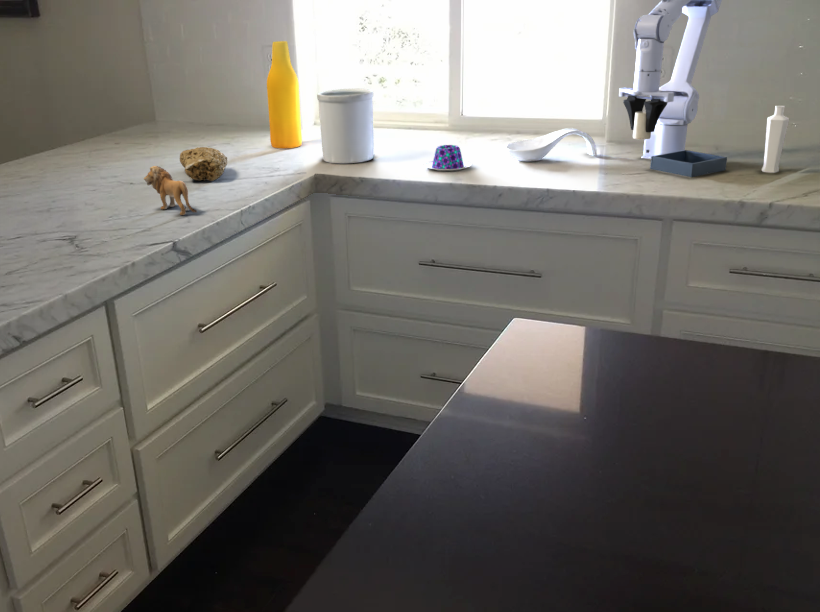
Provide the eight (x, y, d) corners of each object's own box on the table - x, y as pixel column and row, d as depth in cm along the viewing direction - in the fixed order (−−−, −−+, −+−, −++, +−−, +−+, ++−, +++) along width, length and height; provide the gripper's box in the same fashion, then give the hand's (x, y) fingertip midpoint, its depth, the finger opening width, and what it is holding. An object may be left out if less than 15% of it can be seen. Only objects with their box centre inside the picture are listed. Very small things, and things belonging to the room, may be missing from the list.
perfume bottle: (783, 174, 199) (794, 107, 193) (762, 174, 200) (772, 107, 194) (778, 170, 203) (788, 104, 197) (758, 170, 204) (768, 104, 198)
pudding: (439, 161, 227) (439, 140, 224) (480, 165, 220) (480, 144, 218) (415, 169, 218) (414, 148, 216) (457, 174, 211) (457, 152, 209)
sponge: (228, 186, 213) (233, 154, 229) (218, 157, 209) (225, 126, 225) (177, 197, 214) (186, 165, 230) (166, 168, 210) (176, 137, 226)
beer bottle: (274, 143, 260) (267, 40, 248) (304, 142, 258) (299, 40, 247) (267, 148, 251) (260, 43, 240) (298, 148, 250) (292, 42, 239)
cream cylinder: (629, 138, 205) (631, 112, 203) (638, 136, 208) (640, 110, 205) (644, 140, 203) (647, 113, 200) (653, 137, 205) (656, 111, 203)
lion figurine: (144, 208, 190) (139, 167, 187) (163, 203, 194) (158, 162, 190) (188, 217, 181) (183, 174, 178) (207, 212, 185) (202, 170, 182)
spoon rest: (512, 165, 218) (513, 136, 216) (498, 156, 229) (499, 129, 226) (602, 159, 221) (604, 131, 218) (584, 151, 232) (586, 124, 229)
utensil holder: (311, 163, 230) (307, 94, 223) (333, 152, 243) (330, 87, 236) (362, 165, 225) (360, 95, 218) (382, 154, 238) (381, 88, 231)
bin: (649, 170, 208) (651, 156, 207) (683, 163, 213) (685, 149, 212) (690, 178, 198) (692, 163, 197) (725, 171, 204) (727, 157, 203)
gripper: (611, 69, 203) (607, 128, 208) (661, 74, 191) (654, 136, 197) (633, 67, 206) (627, 125, 212) (682, 71, 195) (676, 132, 200)
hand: (642, 130), depth 204 cm, fingers closed on cream cylinder, 4 cm apart
